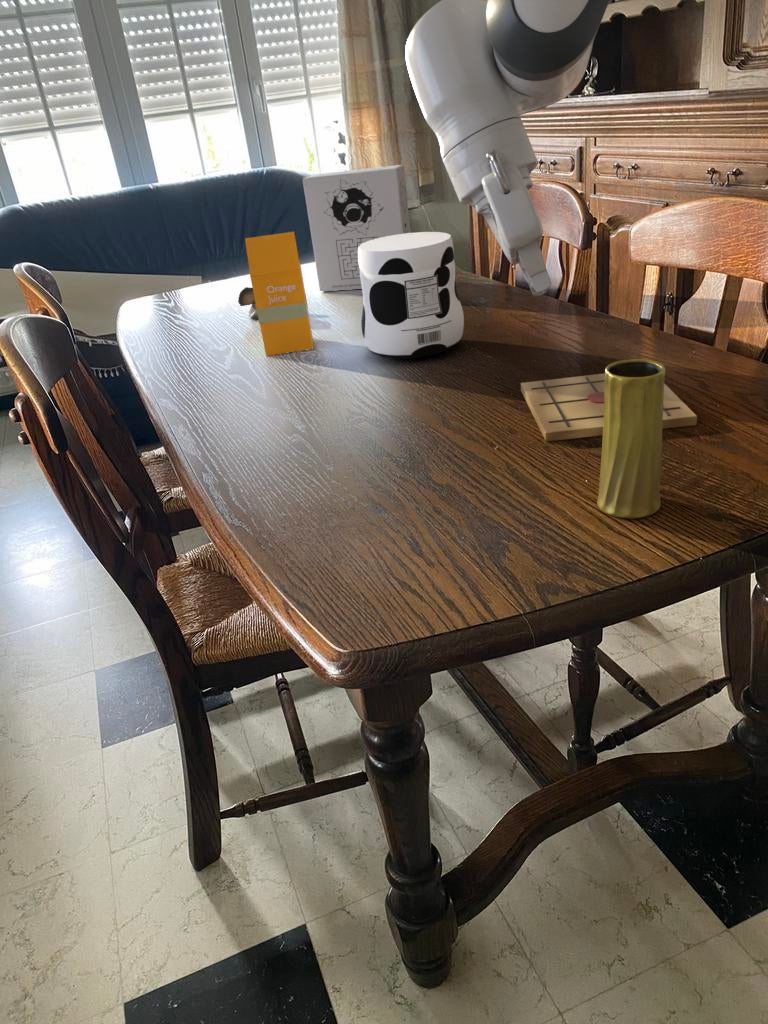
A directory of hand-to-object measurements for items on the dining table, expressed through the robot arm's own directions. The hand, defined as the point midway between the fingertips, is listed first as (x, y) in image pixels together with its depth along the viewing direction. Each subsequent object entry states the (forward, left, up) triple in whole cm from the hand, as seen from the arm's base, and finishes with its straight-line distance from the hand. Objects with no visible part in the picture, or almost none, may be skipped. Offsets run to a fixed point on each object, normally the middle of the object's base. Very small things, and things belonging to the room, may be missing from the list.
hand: (543, 292), depth 80 cm
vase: (-5, +16, -18) cm, 25 cm away
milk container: (+14, -44, -18) cm, 50 cm away
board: (-9, -10, -18) cm, 23 cm away
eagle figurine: (+47, -83, -18) cm, 97 cm away
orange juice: (+37, -55, -18) cm, 69 cm away
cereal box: (+23, -99, -18) cm, 103 cm away
